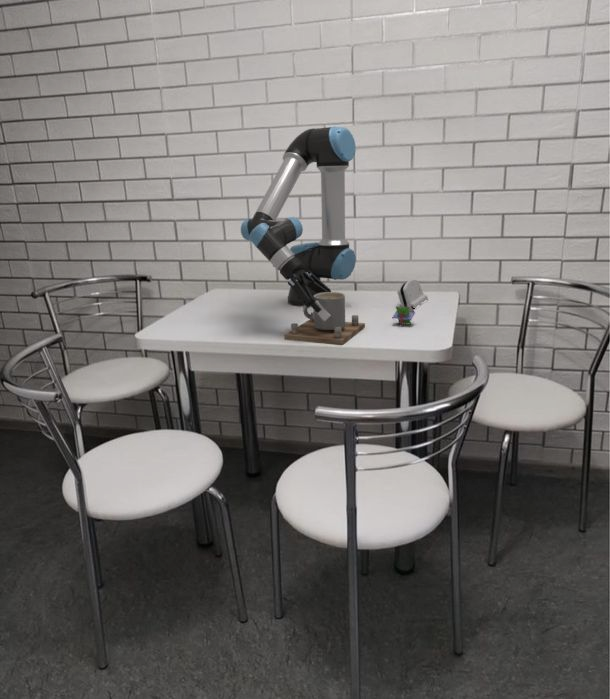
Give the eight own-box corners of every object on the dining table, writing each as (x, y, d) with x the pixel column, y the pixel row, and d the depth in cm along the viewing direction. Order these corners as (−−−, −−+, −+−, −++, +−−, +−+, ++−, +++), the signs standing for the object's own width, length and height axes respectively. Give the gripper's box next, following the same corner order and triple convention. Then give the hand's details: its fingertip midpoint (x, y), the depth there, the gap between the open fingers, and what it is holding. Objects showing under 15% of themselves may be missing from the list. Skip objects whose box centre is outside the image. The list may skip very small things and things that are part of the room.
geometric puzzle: (407, 323, 197) (413, 301, 199) (388, 321, 200) (393, 299, 202) (413, 331, 203) (418, 309, 205) (394, 329, 206) (399, 308, 208)
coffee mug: (348, 322, 199) (348, 292, 196) (340, 330, 190) (339, 299, 187) (310, 320, 203) (309, 291, 200) (300, 328, 194) (299, 298, 191)
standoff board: (310, 323, 210) (310, 310, 209) (364, 327, 202) (364, 314, 201) (284, 339, 193) (283, 325, 192) (342, 344, 185) (342, 330, 184)
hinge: (414, 309, 222) (406, 283, 220) (403, 312, 224) (394, 287, 223) (428, 299, 236) (420, 275, 234) (417, 302, 238) (409, 278, 237)
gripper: (295, 265, 207) (339, 313, 206) (264, 278, 189) (312, 331, 187) (308, 250, 204) (353, 299, 202) (278, 261, 185) (327, 315, 183)
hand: (333, 314), depth 194 cm, fingers closed on coffee mug, 9 cm apart
